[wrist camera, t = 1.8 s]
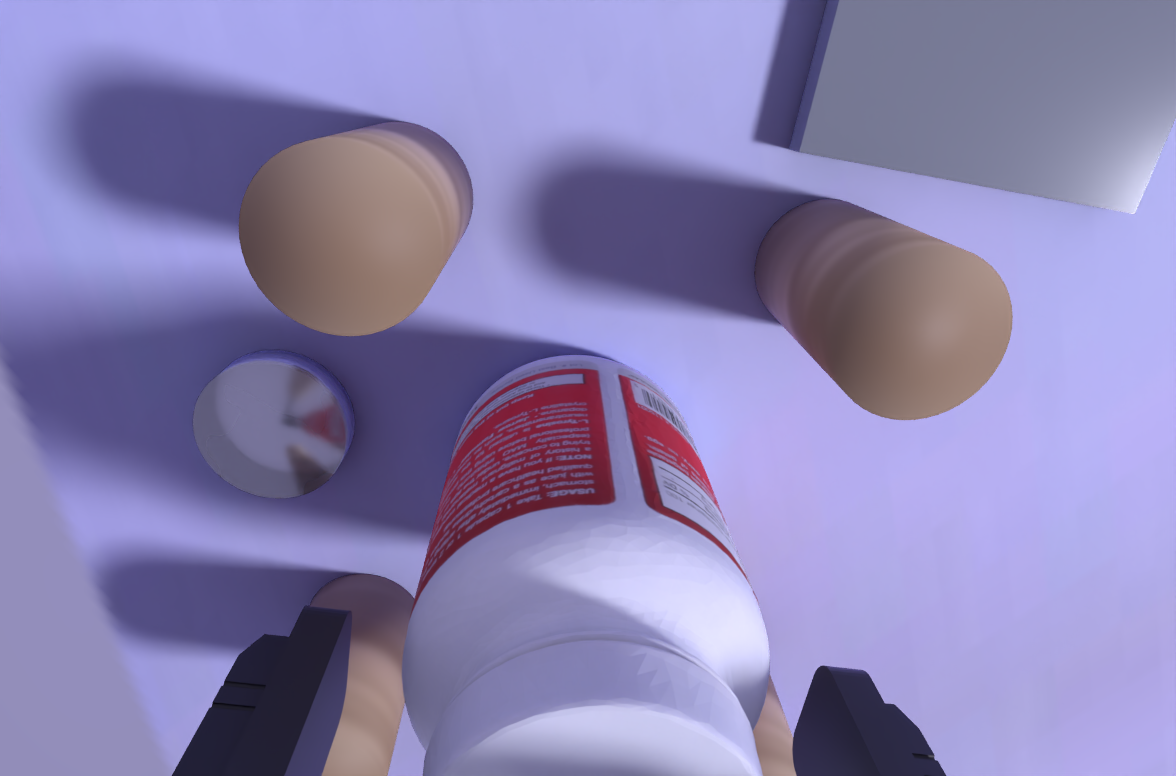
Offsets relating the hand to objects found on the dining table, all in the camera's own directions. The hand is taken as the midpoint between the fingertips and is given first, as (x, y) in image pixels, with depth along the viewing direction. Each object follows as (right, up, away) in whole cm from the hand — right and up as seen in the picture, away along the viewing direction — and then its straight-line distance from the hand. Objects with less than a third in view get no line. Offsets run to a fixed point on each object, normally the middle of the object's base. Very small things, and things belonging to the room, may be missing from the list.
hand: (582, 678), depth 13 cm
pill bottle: (0, +3, +7) cm, 8 cm away
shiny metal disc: (-8, +4, +7) cm, 11 cm away
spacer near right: (+6, +8, +6) cm, 11 cm away
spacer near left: (-4, +9, +5) cm, 11 cm away
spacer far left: (-6, -2, +9) cm, 11 cm away
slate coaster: (+9, +13, +3) cm, 17 cm away
